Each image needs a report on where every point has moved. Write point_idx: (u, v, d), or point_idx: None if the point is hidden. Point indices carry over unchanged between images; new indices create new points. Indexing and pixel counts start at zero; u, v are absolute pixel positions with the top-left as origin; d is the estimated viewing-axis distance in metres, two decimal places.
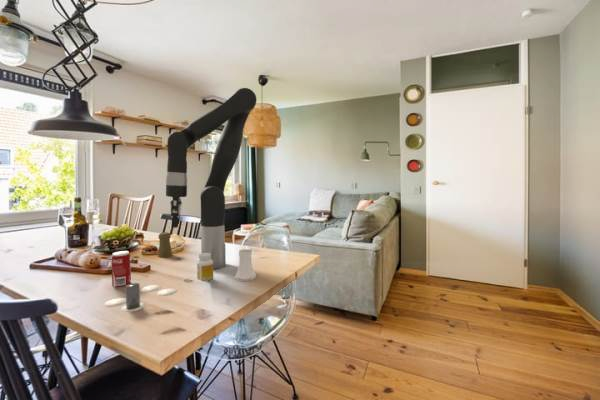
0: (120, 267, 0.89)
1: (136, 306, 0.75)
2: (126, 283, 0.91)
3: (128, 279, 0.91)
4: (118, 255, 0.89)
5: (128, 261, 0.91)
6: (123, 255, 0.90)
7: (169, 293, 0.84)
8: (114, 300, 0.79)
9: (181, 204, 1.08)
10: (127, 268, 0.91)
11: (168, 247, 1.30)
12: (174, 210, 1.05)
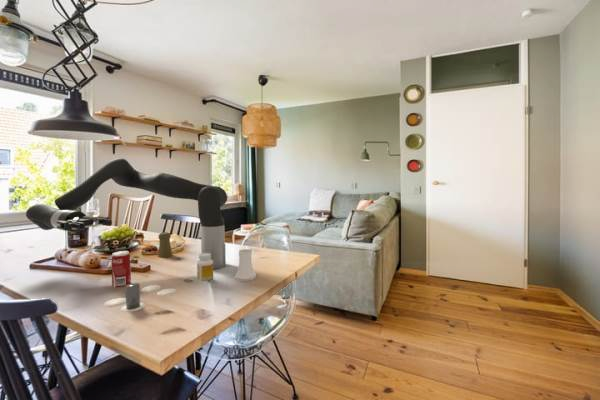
0: (120, 267, 0.89)
1: (136, 306, 0.75)
2: (126, 283, 0.91)
3: (128, 279, 0.91)
4: (118, 255, 0.89)
5: (128, 261, 0.91)
6: (123, 255, 0.90)
7: (169, 293, 0.84)
8: (114, 300, 0.79)
9: (78, 217, 0.97)
10: (127, 268, 0.91)
11: (168, 247, 1.30)
12: None
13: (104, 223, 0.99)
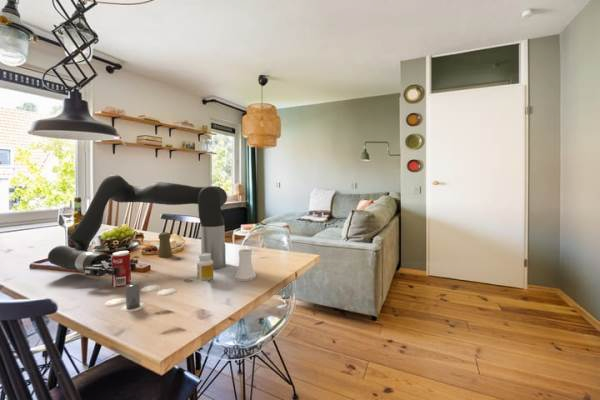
0: (120, 266, 0.89)
1: (136, 306, 0.75)
2: (126, 283, 0.91)
3: (128, 279, 0.91)
4: (118, 255, 0.89)
5: (128, 261, 0.91)
6: (123, 255, 0.90)
7: (169, 293, 0.84)
8: (114, 300, 0.79)
9: (104, 260, 0.93)
10: (127, 268, 0.91)
11: (168, 247, 1.30)
12: None
13: None
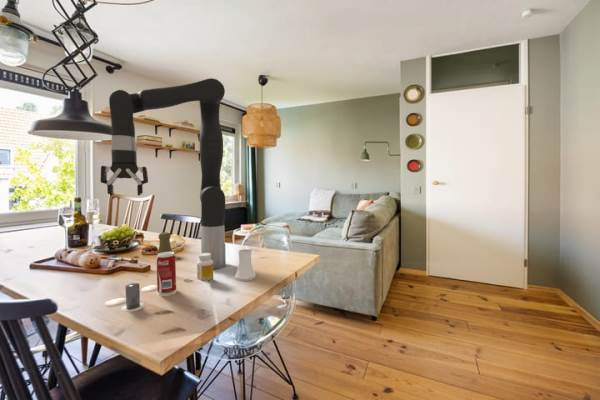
0: (166, 269, 0.83)
1: (136, 306, 0.75)
2: (172, 286, 0.84)
3: (174, 282, 0.85)
4: (164, 256, 0.83)
5: (174, 263, 0.85)
6: (169, 256, 0.83)
7: None
8: (114, 300, 0.79)
9: (120, 171, 0.97)
10: (173, 270, 0.84)
11: (168, 247, 1.30)
12: None
13: None
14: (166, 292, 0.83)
